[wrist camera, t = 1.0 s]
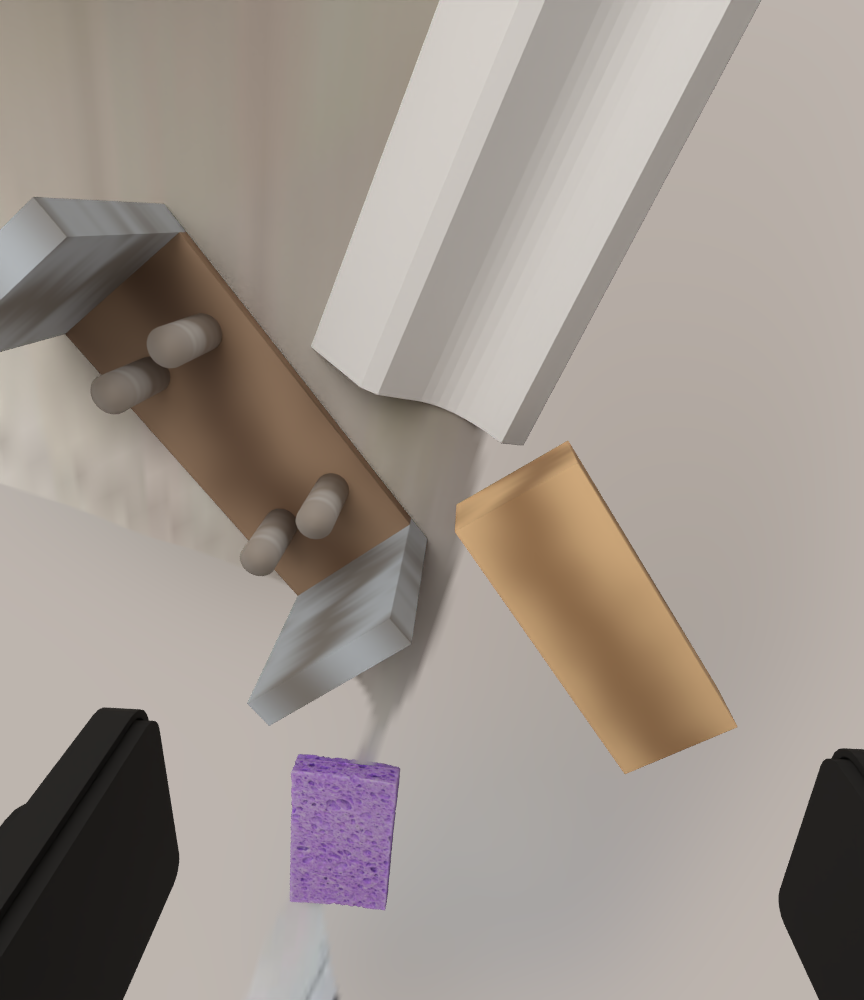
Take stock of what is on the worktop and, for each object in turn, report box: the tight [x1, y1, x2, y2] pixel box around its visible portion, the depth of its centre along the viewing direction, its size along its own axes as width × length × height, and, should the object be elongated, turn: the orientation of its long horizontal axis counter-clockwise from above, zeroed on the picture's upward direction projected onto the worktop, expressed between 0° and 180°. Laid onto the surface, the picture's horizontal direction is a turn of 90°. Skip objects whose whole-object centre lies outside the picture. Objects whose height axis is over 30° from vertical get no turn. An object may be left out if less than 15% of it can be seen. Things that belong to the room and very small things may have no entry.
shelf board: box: [455, 441, 737, 774], centre depth 32 cm, size 6×16×3 cm, turn 33°
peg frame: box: [0, 197, 427, 726], centre depth 30 cm, size 8×21×10 cm, turn 36°
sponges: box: [290, 754, 400, 910], centre depth 46 cm, size 7×13×2 cm, turn 175°
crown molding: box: [311, 0, 761, 445], centre depth 27 cm, size 31×12×4 cm, turn 156°
